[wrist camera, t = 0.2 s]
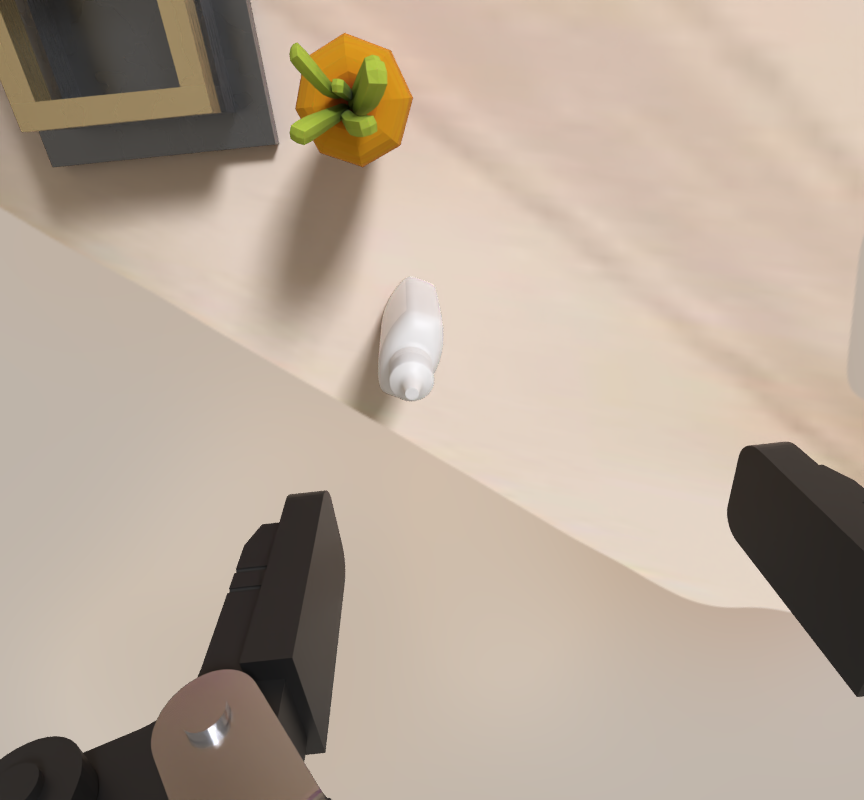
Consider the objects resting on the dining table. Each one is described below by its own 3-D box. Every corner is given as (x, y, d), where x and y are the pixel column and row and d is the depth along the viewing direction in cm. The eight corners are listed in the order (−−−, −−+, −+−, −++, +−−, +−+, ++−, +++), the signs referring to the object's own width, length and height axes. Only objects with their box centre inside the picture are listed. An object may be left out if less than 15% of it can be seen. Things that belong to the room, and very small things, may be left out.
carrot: (332, 155, 33) (286, 186, 19) (316, 59, 30) (252, 19, 17) (413, 148, 33) (422, 173, 19) (404, 51, 30) (408, 5, 17)
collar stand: (-51, -127, 26) (-154, -182, 21) (218, -154, 26) (177, -215, 21) (62, 165, 32) (2, 175, 27) (279, 143, 32) (257, 149, 27)
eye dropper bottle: (357, 317, 38) (341, 398, 27) (418, 264, 36) (426, 328, 25) (399, 360, 39) (399, 452, 29) (458, 311, 38) (482, 389, 27)
